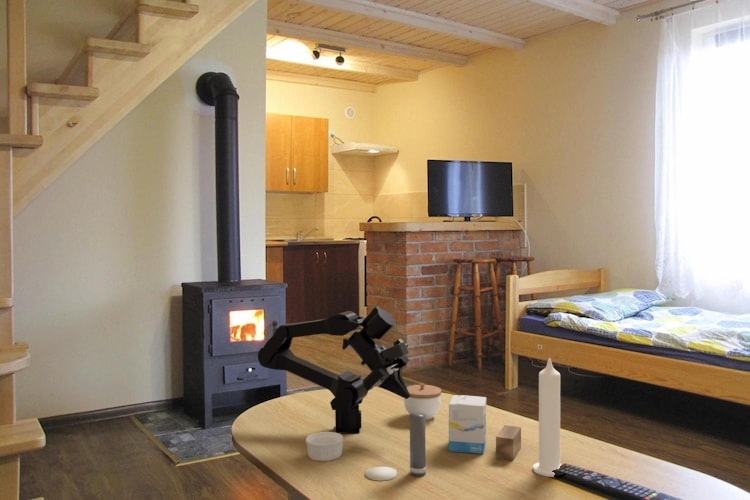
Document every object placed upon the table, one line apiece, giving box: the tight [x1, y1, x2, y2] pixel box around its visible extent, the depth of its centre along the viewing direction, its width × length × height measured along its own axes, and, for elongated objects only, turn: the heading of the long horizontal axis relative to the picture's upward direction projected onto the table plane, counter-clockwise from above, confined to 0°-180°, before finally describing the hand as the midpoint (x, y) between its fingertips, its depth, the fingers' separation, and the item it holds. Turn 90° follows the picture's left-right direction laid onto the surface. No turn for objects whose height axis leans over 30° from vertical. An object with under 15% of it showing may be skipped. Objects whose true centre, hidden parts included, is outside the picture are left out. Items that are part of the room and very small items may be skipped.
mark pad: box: [364, 466, 398, 482], centre depth 138 cm, size 7×7×1 cm
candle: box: [532, 357, 562, 478], centre depth 138 cm, size 7×7×25 cm
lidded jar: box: [403, 383, 442, 421], centre depth 178 cm, size 11×11×9 cm
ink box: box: [448, 394, 487, 455], centre depth 154 cm, size 8×8×12 cm
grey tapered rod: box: [409, 413, 427, 478], centre depth 137 cm, size 4×4×13 cm
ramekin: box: [305, 431, 344, 462], centre depth 149 cm, size 9×9×4 cm
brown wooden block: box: [495, 425, 522, 461], centre depth 149 cm, size 4×9×5 cm, turn 156°
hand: (408, 397), depth 160 cm, fingers closed
